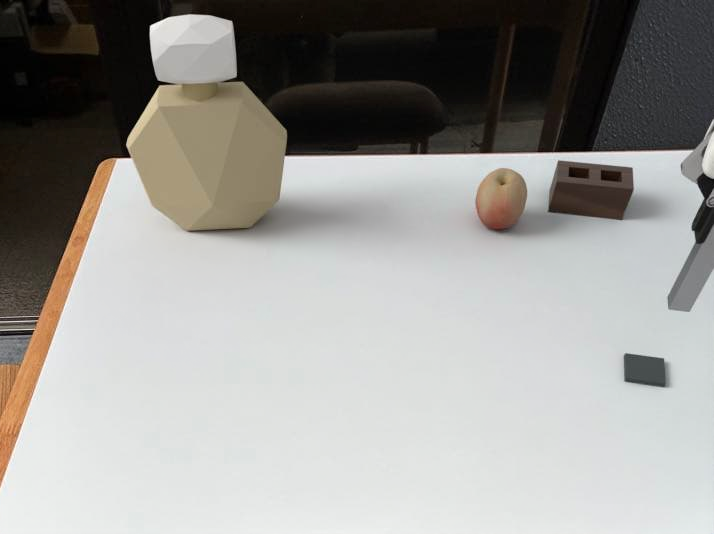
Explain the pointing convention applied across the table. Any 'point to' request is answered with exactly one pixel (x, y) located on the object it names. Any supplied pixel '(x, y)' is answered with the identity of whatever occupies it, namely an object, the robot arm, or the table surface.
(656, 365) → the mat
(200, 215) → the perfume bottle
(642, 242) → the table surface
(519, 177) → the fruit
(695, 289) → the grey square peg
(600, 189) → the holder
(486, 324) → the table surface
